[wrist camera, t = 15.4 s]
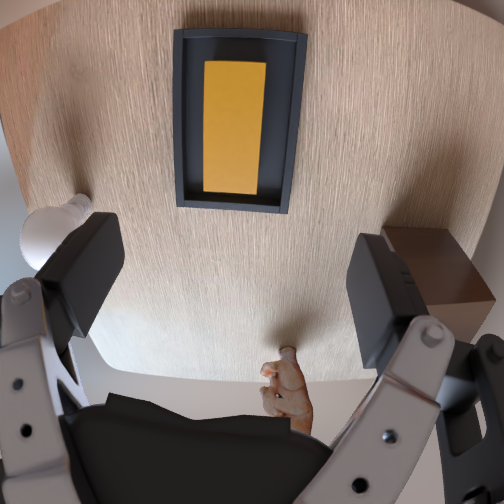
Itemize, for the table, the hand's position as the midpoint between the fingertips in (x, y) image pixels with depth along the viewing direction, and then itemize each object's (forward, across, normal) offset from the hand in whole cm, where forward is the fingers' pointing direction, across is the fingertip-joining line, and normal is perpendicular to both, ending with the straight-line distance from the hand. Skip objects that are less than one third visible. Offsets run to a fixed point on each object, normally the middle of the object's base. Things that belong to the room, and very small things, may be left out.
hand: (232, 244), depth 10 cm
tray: (+20, +2, 0) cm, 20 cm away
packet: (+19, +2, 0) cm, 19 cm away
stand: (+20, -19, +14) cm, 31 cm away
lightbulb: (+20, +19, +9) cm, 29 cm away
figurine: (+20, -7, +34) cm, 40 cm away
